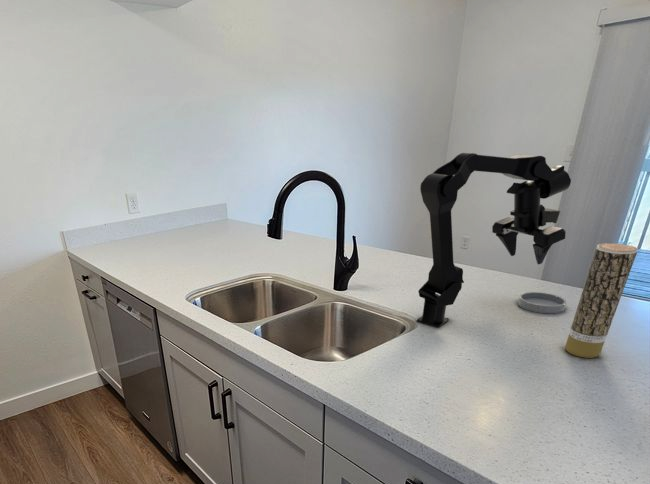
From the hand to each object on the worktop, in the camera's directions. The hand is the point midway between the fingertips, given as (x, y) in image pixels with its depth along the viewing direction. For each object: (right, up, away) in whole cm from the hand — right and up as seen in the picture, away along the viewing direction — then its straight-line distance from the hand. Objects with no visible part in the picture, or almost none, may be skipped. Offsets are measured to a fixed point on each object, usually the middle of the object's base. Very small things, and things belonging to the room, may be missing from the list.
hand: (526, 259), depth 121 cm
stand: (+8, -12, +6) cm, 16 cm away
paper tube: (+1, -26, -19) cm, 32 cm away
